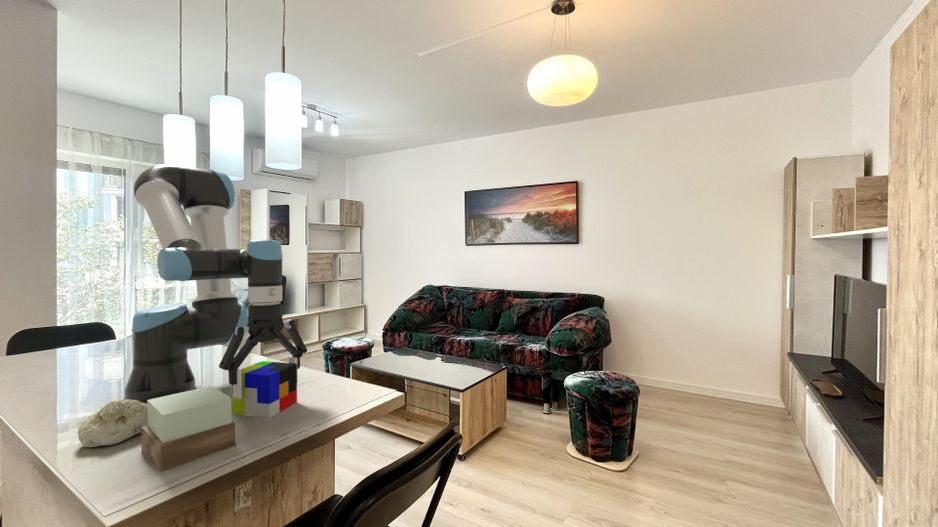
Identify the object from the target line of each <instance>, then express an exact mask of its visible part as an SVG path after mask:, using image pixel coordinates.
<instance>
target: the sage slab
mask: <svg viewBox="0 0 938 527" xmlns="http://www.w3.org/2000/svg"><path fill="white" fill-rule="evenodd" d="M146 402H147V403H146V404H147V410H148V426H149V428H150V429H151V430H152V431H153V432H154V433H155V435H156V436H157V437H158V438H159V439H160V440H161V442H162V443H165V442H169V441H172V440H176V439H179V438H182V437H186V436H189V435H193V434H196V433H199V432H203V431H206V430H210V429H213V428H216V427H220V426H223V425H226V424H230V423H231V420H232V397H230V396H229V395H227V394H226V393H224V392H222V391H221V390H219V389H218V388H216V387H215V386H213V385H210V386H205V387H200V388H199V387H198V388H196V389H195V388H194V389H193V390H190V391H186V392H181V393H177V394H172V395H168V396H163V397H159V398H154V399H150V400H147V401H146Z"/></svg>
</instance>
